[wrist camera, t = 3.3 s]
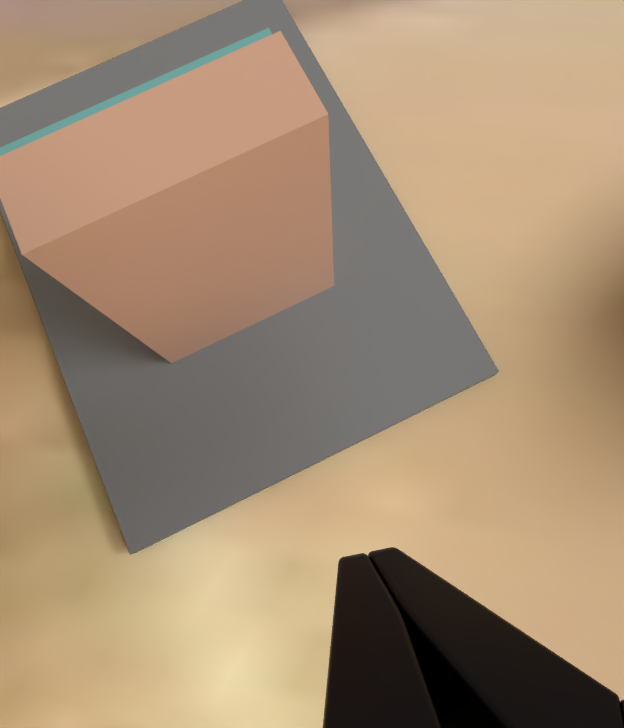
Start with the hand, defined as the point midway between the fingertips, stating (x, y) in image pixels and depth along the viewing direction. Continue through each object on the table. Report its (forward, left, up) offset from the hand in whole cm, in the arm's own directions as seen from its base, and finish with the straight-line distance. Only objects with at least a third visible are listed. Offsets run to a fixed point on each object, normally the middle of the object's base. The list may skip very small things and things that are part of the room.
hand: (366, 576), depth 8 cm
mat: (+8, +9, -12) cm, 17 cm away
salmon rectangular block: (+6, +7, -12) cm, 15 cm away
